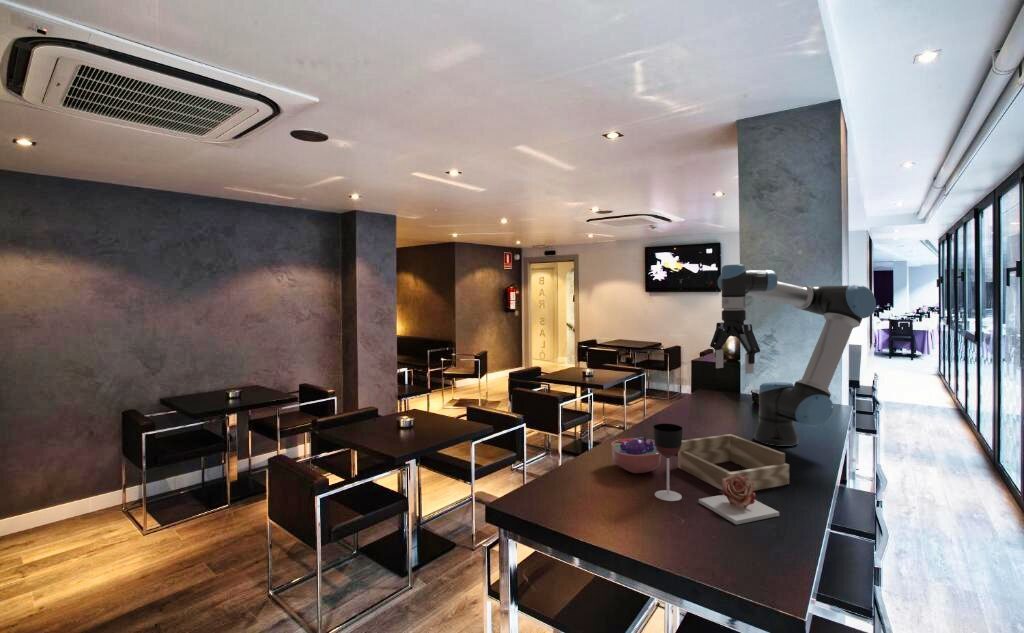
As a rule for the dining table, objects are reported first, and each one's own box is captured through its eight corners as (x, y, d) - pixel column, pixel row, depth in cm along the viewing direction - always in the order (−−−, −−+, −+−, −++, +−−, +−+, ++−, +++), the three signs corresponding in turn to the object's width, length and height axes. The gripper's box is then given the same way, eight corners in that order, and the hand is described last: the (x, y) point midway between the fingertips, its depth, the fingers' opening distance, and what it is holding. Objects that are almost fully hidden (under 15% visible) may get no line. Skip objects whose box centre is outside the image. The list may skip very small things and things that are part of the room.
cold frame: (730, 459, 170) (730, 433, 170) (789, 484, 148) (789, 455, 147) (677, 467, 163) (677, 441, 163) (730, 494, 141) (730, 464, 140)
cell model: (667, 463, 167) (667, 431, 167) (658, 484, 149) (658, 448, 149) (618, 457, 175) (617, 426, 174) (604, 476, 156) (604, 442, 156)
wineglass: (682, 491, 144) (682, 424, 143) (682, 503, 136) (682, 432, 135) (654, 488, 146) (654, 422, 146) (653, 499, 138) (652, 430, 137)
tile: (738, 495, 140) (738, 491, 140) (779, 515, 127) (779, 512, 127) (698, 502, 136) (698, 499, 136) (736, 524, 123) (736, 520, 123)
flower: (712, 490, 137) (716, 475, 133) (741, 482, 138) (745, 467, 134) (730, 519, 130) (734, 505, 126) (760, 511, 131) (765, 496, 126)
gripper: (699, 309, 178) (700, 366, 179) (753, 310, 155) (754, 376, 156) (716, 308, 181) (716, 365, 182) (771, 309, 157) (772, 374, 158)
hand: (733, 370), depth 169 cm, fingers open, 13 cm apart
